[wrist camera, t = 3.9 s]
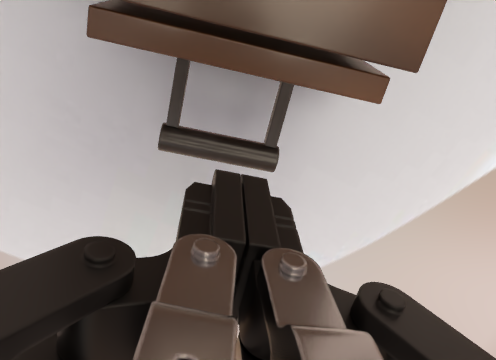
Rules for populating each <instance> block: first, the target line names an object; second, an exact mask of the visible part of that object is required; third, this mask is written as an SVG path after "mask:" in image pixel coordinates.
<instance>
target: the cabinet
mask: <svg viewBox="0 0 496 360" xmlns="http://www.w3.org/2000/svg"><path fill="white" fill-rule="evenodd" d="M120 1H124V2H128V3H132V4H136V5H140V6H144V7H148V8H153V9H157V10H161V11H165V12H169V13H173V14H177V15H181V16H185V17H189V18H193V19H197V20H201V21H206V22H210V23H214V24H218V25H222V26H226V27H230V28H234V29H238V30H242V31H246V32H250V33H254V34H259V35H263V36H267V37H271V38H275V39H279V40H283V41H287V42H291V43H295V44H299V45H303V46H307V47H312V48H316V49H320V50H324V51H328V52H332V53H336V54H340V55H344V56H348V57H352V58H356V59H360V60H364V61H369V62H373V63H377V64H381V65H385V66H389V67H393V68H397V69H401V70H405V71H409V72H413V73H417V72H418V71H419V68H420V66H421V63H422V61H423V58H424V56H425V53H426V51H427V48H428V46H429V44H430V41H431V39H432V36H433V34H434V31H435V29H436V26H437V24H438V21H439V19H440V16H441V14H442V11H443V9H444V7H445V4H446V2H447V0H120Z"/></svg>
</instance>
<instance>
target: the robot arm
mask: <svg viewBox="0 0 496 360" xmlns="http://www.w3.org/2000/svg"><path fill="white" fill-rule="evenodd" d="M293 220H294V218H293V215H292V211H291V208H290V207H289V206H288V205H287V204H286V203H285V202H284V201H283V200H282V198H277V197H272V196H270V191H269V187H268V182H267V179H264V178H259V177H254V176H249V175H243V174H242V175H240V174H238V173H233V172H228V171H222V170H217V169H215V172H214V176H213V180H212V185H208V184H202V183H197V182H194V183H193V184H192V185H190V186H189V187H188V188H187V189H186V191H185V196H184V201H183V206H182V212H181V217H180V222H179V227H178V232H177V237H176V242H175V243H174V245H173V248H172V249H171V250H169V251H168V252H166V253H164V254H161V255H158V256H154V257H145V258H136V256H135V253H134V251H133V250H132V248H131V247H130V246H128V245H127V244H125V243H124V242H122V241H120V240H117V239H114V238H109V237H102V236H93V237H86V238H81V239H78V240H76V241H73V242H70V243H68V244H65V245H63V246H60V247H58V248H55V249H52V250H50V251H47V252H45V253H42V254H40V255H37V256H35V257H32V258H29V259H27V260H24V261H22V262H19V263H17V264H14V265H12V266H9V267H6V268H4V269H1V270H0V360H496V358H494V357H493V356H491V355H490V354H489V353H487V352H486V351H484V350H483V349H482V348H480V347H479V346H478V345H476V344H475V343H473V342H472V341H471V340H469V339H468V338H466V337H465V336H464V335H462V334H461V333H460V332H458V331H457V330H455V329H454V328H453V327H451V326H450V325H448V324H447V323H446V322H444V321H443V320H441V319H440V318H439V317H437V316H436V315H435V314H433V313H432V312H430V311H429V310H427V309H426V308H425V307H423V306H422V305H421V304H419V303H418V302H417V301H415V300H414V299H412V298H411V297H410V296H408V295H407V294H405V293H404V292H402V291H401V290H399V289H397V288H395V287H393V286H390V285H387V284H384V283H379V282H370V283H365V284H363V285H362V286H361V287H360V289H359V291H358V293H357V295H354V294H352V293H349V292H347V291H344V290H341V289H339V288H336V287H334V286H331V285H329V284H327V282H326V280H325V278H324V275H323V273H322V270H321V268H320V267H319V265H318V264H317V263H316V262H315V261H314V260H313V259H312V258H310V257H309V256H307V255H305V254H304V253H303V250H302V246H301V243H300V239H299V236H298V232H297V230H296V225H295V222H294V221H293ZM238 324H239V330H240V332H239V335H238V338H237V327H238V326H237V325H238Z"/></svg>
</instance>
